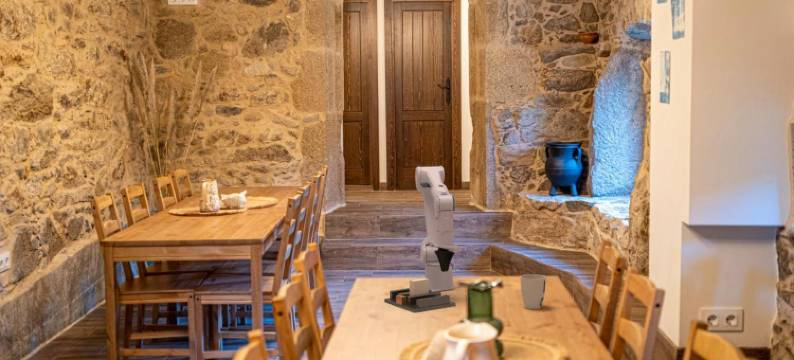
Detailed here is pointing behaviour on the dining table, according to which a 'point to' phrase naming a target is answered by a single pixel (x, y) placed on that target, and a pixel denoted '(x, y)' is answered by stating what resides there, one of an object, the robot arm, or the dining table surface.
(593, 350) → the dining table surface
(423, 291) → the tall beige block
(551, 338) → the dining table surface
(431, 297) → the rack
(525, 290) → the cup
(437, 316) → the dining table surface
